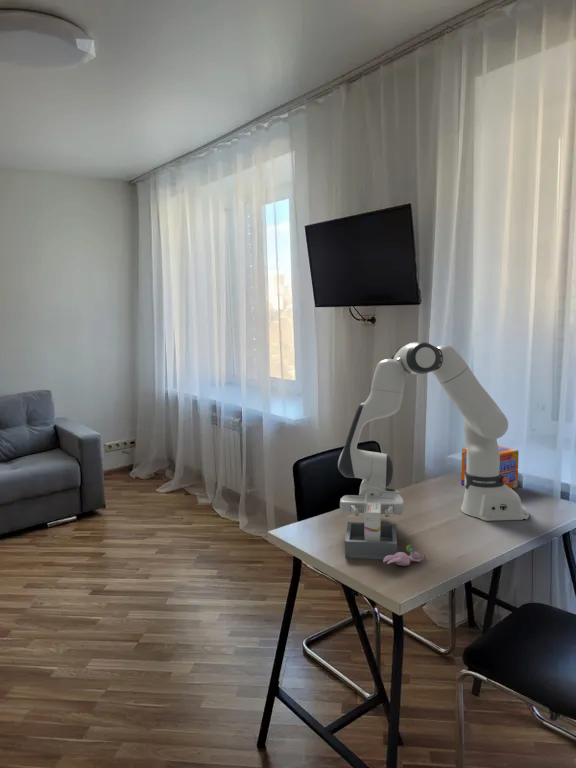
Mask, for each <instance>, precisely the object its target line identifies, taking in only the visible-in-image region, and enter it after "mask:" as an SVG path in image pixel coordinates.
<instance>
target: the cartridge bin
mask: <svg viewBox="0 0 576 768" xmlns="http://www.w3.org/2000/svg"><path fill="white" fill-rule="evenodd" d="M345 532H346V533H345V539H344V558H351V559H368V560H370V559H371V560H384V558H385V557H386V556H388V555H395V554H396V553H398V540H397V539H398V538H397V525H396V523H381V529H380V541H365V540H364V522H358V521H355V522H354V521H347V526H346V531H345Z"/></svg>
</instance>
